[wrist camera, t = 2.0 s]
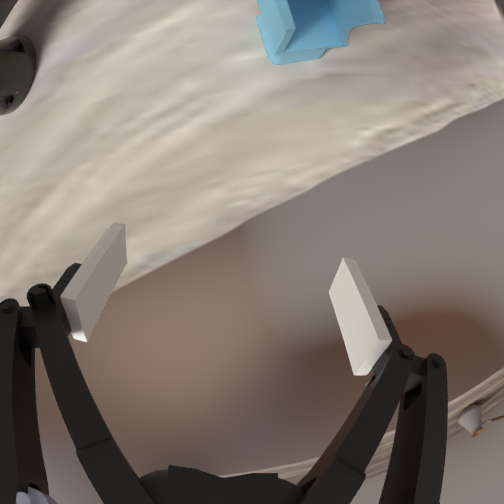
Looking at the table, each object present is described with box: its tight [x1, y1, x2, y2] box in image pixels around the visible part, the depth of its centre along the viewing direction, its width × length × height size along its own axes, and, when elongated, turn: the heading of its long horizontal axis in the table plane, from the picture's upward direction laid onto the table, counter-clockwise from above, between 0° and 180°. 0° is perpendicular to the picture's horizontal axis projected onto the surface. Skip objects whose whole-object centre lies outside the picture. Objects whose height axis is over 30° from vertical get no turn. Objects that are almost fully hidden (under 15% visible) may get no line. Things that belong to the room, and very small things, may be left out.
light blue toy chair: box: [256, 0, 386, 65], centre depth 22 cm, size 8×8×20 cm
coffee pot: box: [458, 404, 504, 438], centre depth 72 cm, size 21×12×15 cm, turn 134°
